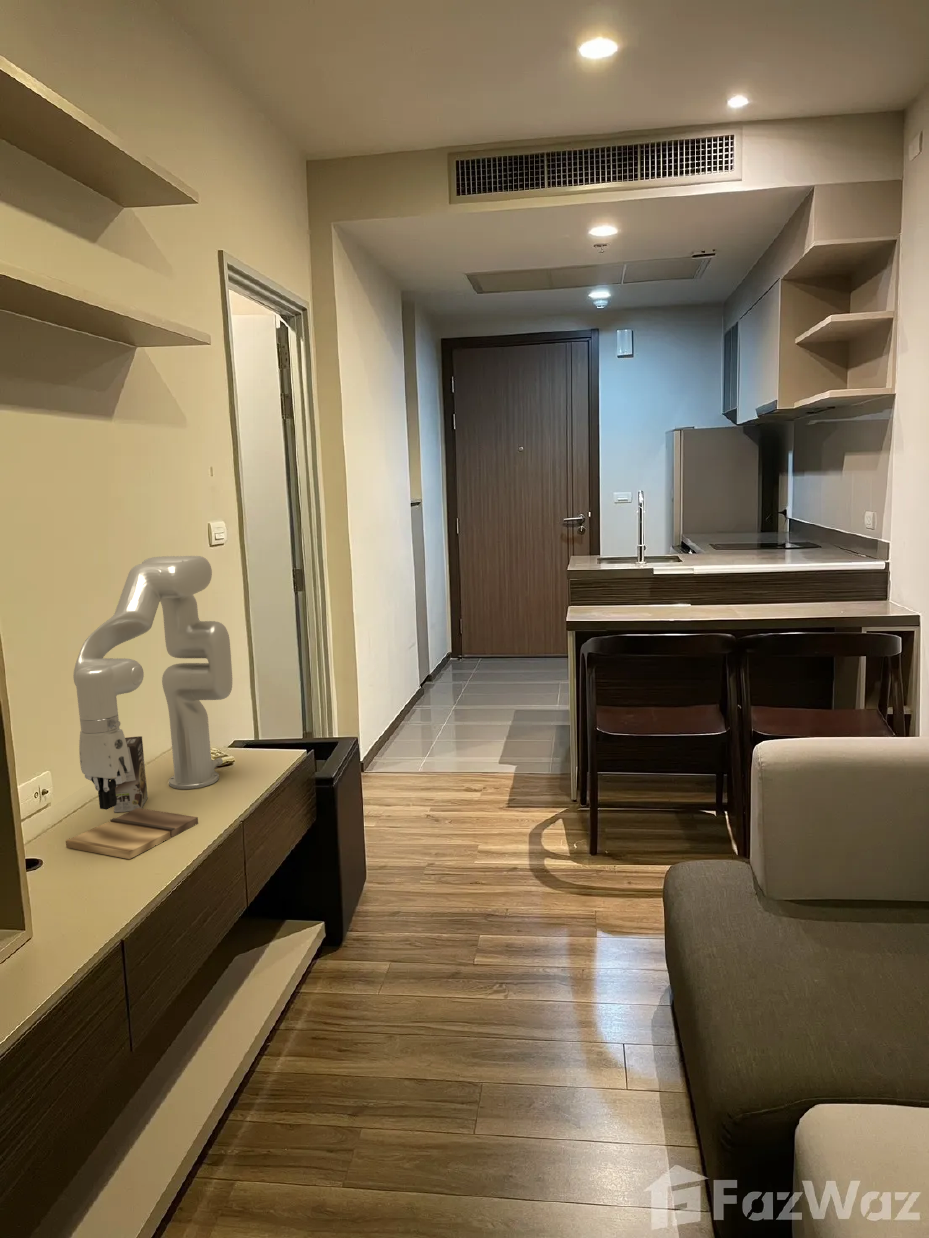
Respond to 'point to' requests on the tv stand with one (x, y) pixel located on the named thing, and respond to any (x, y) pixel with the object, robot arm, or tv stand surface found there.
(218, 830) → the tv stand surface
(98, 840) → the oak plank
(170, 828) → the walnut board
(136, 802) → the coffee box
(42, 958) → the tv stand surface
